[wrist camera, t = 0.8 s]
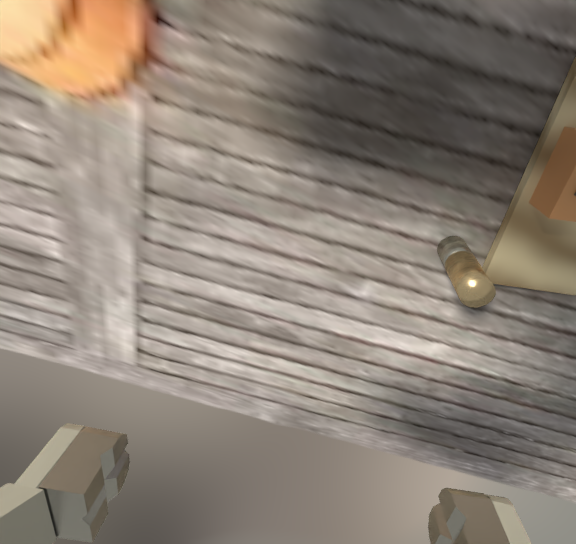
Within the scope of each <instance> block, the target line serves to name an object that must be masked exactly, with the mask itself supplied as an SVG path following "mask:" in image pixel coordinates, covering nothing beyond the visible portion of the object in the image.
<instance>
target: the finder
mask: <svg viewBox="0 0 576 544" xmlns="http://www.w3.org/2000/svg"><path fill="white" fill-rule="evenodd" d="M529 203H530V204H531V205H532V206H534V207H535V208H536V209H538V210H539V211H540V212H541V213H543V214H544V215H545V216H546V217H548V218H550V219H557V220H565V221H573V222H576V128H572V127H564V129H563V131H562V133H561V135H560V137H559V139H558V142H557V144H556V146H555V148H554V150H553V152H552V154H551V156H550V159H549V161H548V163H547V165H546V167H545V169H544V171H543V173H542V176H541V178H540V180H539V182H538V184H537V186H536V188H535V191H534V193H533V195H532V197H531V199H530V201H529Z"/></svg>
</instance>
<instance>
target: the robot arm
mask: <svg viewBox="0 0 576 544" xmlns="http://www.w3.org/2000/svg"><path fill="white" fill-rule="evenodd" d="M127 444H128V439H127V434H123V433H118V432H112V431H107V430H102V429H97V428H92V427H87V426H82V425H76V424H70V423H67V424H65V425H64V426H63V427H61V428H60V429H59V430H58V431H57V432H56V434H55V435H54V436H53V437H52V439H51V440H50V441H49V442H48V443H47V445H46V446H45V447H44V448H43V450H42V451H41V452H40V453H39V454H38V456H37V457H36V458H35V459H34V461H33V462H32V463H31V464H30V465H29V467H28V468H27V469H26V470H25V472H24V473H23V474H22V475H21V477H20V478H19V479H18V480H17V481H16V483H15V484H11V483H8V484H6V485H4V486H2V487H1V488H0V544H53V543H54V542H55V541H56V540H57V538H64V539H71V540H78V541H85V542H91V543H93V541H94V540H95V537H96V536H97V534H98V532H99V530H100V528H101V526H102V524H103V523H104V521H105V519H106V517H107V515H108V505H107V502H109V501H110V500H111V499H113V498H114V497H116V496H117V495H118V494H119V492H120V490H121V488H122V486H123V484H124V482H125V479H126V476H127V473H128V470H129V463H130V461H129V454H128V453H127V452H126V451H125V450H124V449H125V448H126V446H127ZM439 500H440V503H439V504H437V505H436V506H434V507H433V508H432V510H431V512H430V515H429V523H428V524H429V525H428V529H429V538H430V542H431V544H532V543H531V541H530V539H529V537H528V535H527V533H526V531H525V529H524V527H523V525H522V523H521V521H520V519H519V517H518V515H517V512H516V510H515V508H514V507H513V504H512V503H511V502H510V501H509V500H508V499H507V498H504V497H499V496H492V495H485V494H483V493H477V492H471V491H464V490H457V489H451V488H444V489H442V490H441V492H440V494H439ZM56 537H57V538H56Z"/></svg>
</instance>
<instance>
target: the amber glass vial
mask: <svg viewBox="0 0 576 544" xmlns="http://www.w3.org/2000/svg"><path fill="white" fill-rule="evenodd" d="M437 252H438V255H439V257H440V259H441V261H442V263H443V265H444V267H445V269H446V271H447V274H448V276H449V278H450V280H451V282H452V284H453V286H454V288H455V290H456V292H457V294H458V297H459V299H460V301H461V302H462V303H463V304H464V305H466V306H468V307H473V308H476V307H482V306H484V305H486V304H488V303H489V302H491V301H492V300H493V298H494V297H495V293H496V290H495V287H494V285H493V284H492V282H491V281H490V279H489V278H488V276H487V275H486V273H485V271H484V270H483V268H482V267H481V265H480V264H479V262H478V261H477V259H476V258H475V256H474V255H473V253H472V252H471V250H470V249H469V247H468V246H467V244H466V243H465V241H464V240H463V239H462V238H460V237H458V236H450V237H447V238H445V239H443V240H442V241H441V242H440V243H439V245H438V248H437Z"/></svg>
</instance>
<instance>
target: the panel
mask: <svg viewBox="0 0 576 544" xmlns="http://www.w3.org/2000/svg"><path fill="white" fill-rule="evenodd" d="M564 127H572V128H576V56H575V59H574V61H573V63H572V65H571V68H570V70H569V72H568V74H567V77H566V79H565V81H564V83H563V86H562V88H561V90H560V93H559V95H558V97H557V99H556V102H555V104H554V106H553V108H552V111H551V113H550V115H549V117H548V120H547V122H546V124H545V127H544V129H543V131H542V133H541V136H540V138H539V140H538V142H537V145H536V147H535V149H534V151H533V154H532V156H531V158H530V161H529V163H528V165H527V167H526V170H525V172H524V174H523V176H522V179H521V181H520V183H519V185H518V188H517V190H516V192H515V194H514V197H513V199H512V201H511V204H510V206H509V208H508V210H507V213H506V215H505V217H504V219H503V222H502V224H501V226H500V228H499V231H498V233H497V235H496V238H495V240H494V242H493V244H492V247H491V249H490V251H489V253H488V256H487V258H486V260H485V262H484V265H483V267H482V268H483V270H484V271H485V273H486V275H487V276H488V278H489V279H490V281H491V282H492V283H493V284H500V285H507V286H514V287H521V288H527V289H534V290H541V291H548V292H555V293H562V294H569V295H576V222H573V221H565V220H557V219H550V218H548V217H546V216H545V215H544V214H543V213H541V212H540V211H539V210H538V209H536V208H535V207H534V206H532V205H531V204H530V203H529V201H530V199H531V197H532V195H533V193H534V191H535V188H536V186H537V184H538V182H539V180H540V178H541V176H542V173H543V171H544V169H545V167H546V165H547V163H548V161H549V159H550V156H551V154H552V152H553V150H554V148H555V146H556V144H557V142H558V139H559V137H560V135H561V133H562V131H563V129H564Z"/></svg>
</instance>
